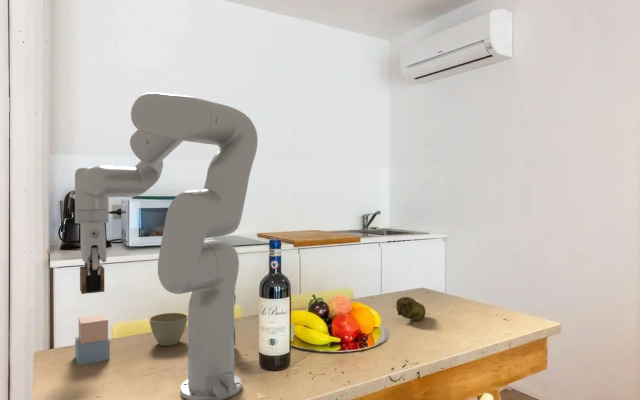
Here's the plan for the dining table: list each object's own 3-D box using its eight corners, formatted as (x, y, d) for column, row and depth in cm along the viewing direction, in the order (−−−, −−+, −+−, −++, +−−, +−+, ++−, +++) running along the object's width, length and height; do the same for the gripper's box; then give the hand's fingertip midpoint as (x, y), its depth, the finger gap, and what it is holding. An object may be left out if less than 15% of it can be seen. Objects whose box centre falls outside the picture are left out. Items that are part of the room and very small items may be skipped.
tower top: (108, 339, 112) (107, 319, 112) (80, 344, 109) (80, 323, 109) (104, 333, 117) (104, 314, 117) (78, 337, 114) (78, 317, 114)
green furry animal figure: (435, 320, 146) (435, 296, 146) (405, 326, 140) (405, 300, 140) (418, 314, 154) (418, 291, 154) (388, 319, 147) (388, 295, 147)
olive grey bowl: (176, 350, 118) (176, 323, 118) (142, 347, 120) (142, 321, 120) (194, 338, 128) (194, 313, 128) (162, 336, 130) (162, 311, 130)
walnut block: (104, 291, 112) (104, 267, 112) (81, 294, 109) (81, 269, 109) (101, 287, 116) (101, 264, 116) (80, 290, 114) (79, 266, 113)
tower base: (109, 359, 112) (109, 340, 112) (78, 365, 108) (77, 345, 108) (105, 351, 118) (105, 332, 118) (75, 356, 114) (75, 337, 114)
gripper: (113, 218, 107) (113, 293, 108) (103, 214, 122) (103, 281, 122) (78, 219, 103) (78, 297, 104) (72, 215, 118) (72, 284, 118)
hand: (92, 288), depth 113 cm, fingers closed on walnut block, 5 cm apart
